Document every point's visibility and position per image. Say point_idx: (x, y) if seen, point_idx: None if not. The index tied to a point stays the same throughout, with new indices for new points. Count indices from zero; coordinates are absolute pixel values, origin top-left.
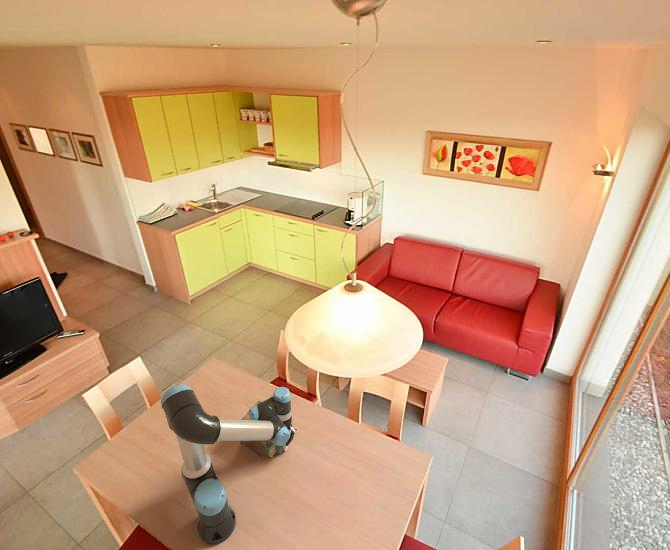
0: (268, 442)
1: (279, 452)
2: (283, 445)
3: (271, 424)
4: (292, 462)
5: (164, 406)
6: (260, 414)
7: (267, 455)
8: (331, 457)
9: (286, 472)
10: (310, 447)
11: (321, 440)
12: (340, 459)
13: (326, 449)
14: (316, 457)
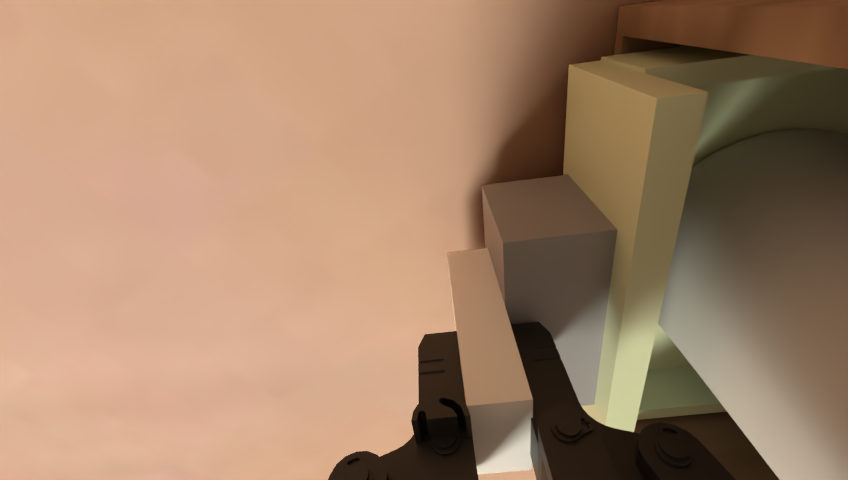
0: (777, 210)
1: (503, 190)
2: (491, 310)
3: None
4: (288, 189)
5: None
6: None
7: (648, 30)
8: (77, 421)
9: (221, 22)
10: (291, 395)
11: (276, 469)
12: (14, 443)
13: (175, 443)
14: (161, 362)
